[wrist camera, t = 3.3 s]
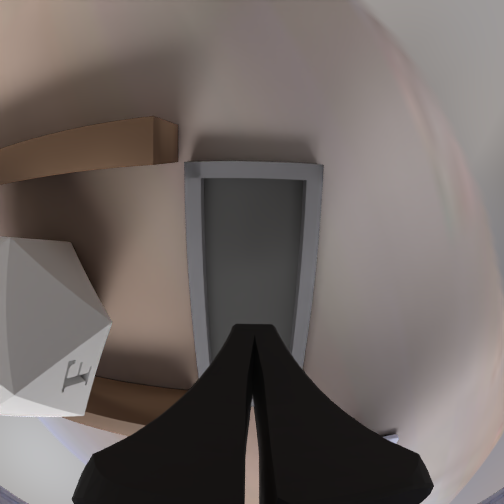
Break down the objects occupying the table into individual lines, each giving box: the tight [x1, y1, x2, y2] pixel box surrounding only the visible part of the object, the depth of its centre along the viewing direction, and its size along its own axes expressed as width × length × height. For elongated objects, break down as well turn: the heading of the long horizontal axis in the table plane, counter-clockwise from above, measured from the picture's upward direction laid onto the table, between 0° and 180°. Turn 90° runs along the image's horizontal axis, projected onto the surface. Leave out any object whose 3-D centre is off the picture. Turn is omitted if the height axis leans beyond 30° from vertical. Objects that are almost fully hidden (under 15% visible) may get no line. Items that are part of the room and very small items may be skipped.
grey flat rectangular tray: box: [184, 161, 324, 407], centre depth 12 cm, size 12×5×1 cm, turn 179°
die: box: [0, 236, 112, 417], centre depth 9 cm, size 8×9×10 cm
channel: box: [0, 116, 188, 436], centre depth 11 cm, size 15×13×3 cm
